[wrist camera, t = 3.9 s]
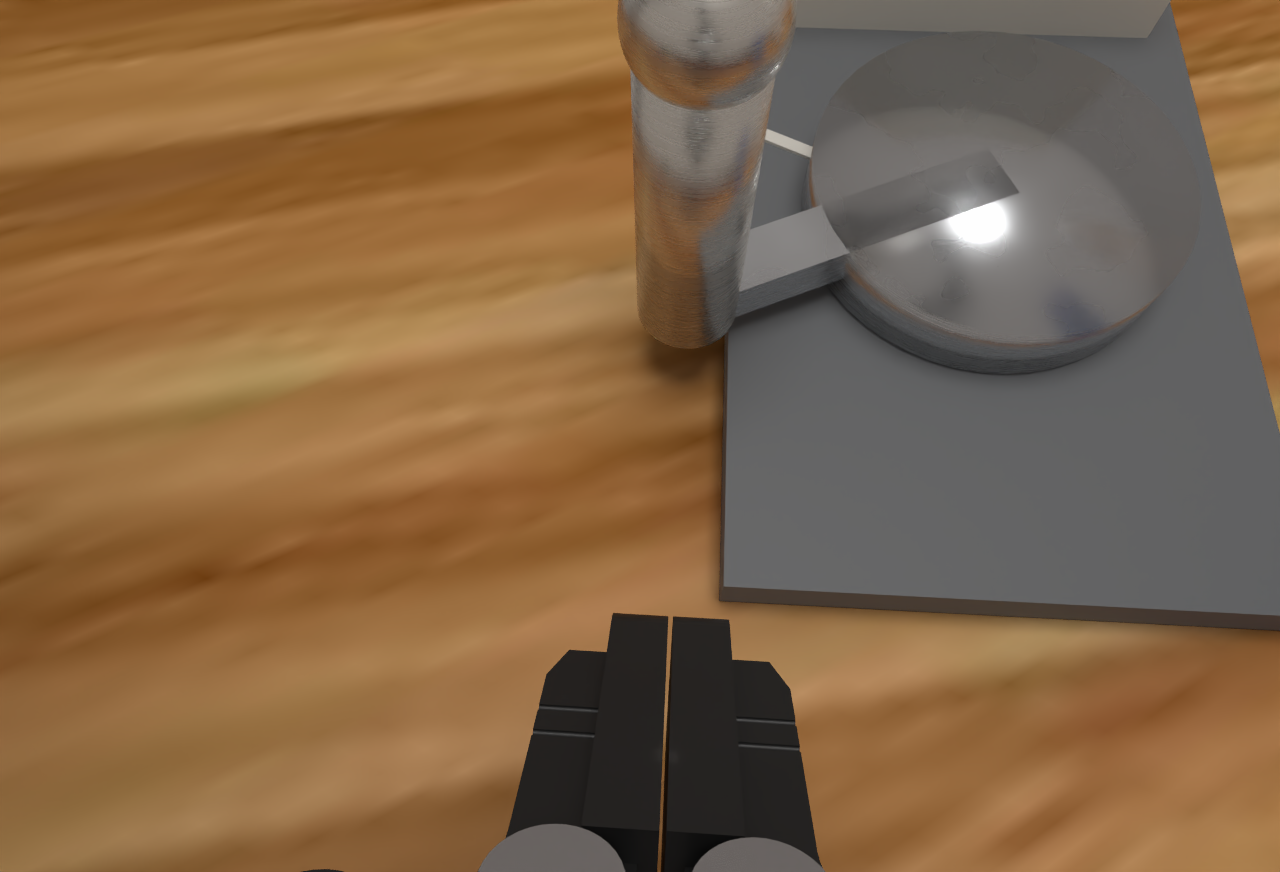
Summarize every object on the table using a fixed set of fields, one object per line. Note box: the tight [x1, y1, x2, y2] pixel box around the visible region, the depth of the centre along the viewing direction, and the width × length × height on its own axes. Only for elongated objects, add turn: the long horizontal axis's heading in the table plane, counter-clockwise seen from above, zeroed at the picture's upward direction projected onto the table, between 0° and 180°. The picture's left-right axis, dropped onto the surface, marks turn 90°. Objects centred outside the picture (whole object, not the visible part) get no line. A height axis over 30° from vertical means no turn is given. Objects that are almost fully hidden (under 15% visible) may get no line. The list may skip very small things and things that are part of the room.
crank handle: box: [617, 0, 1201, 374], centre depth 20 cm, size 16×10×11 cm, turn 112°
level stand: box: [719, 0, 1280, 631], centre depth 24 cm, size 14×22×6 cm, turn 177°
